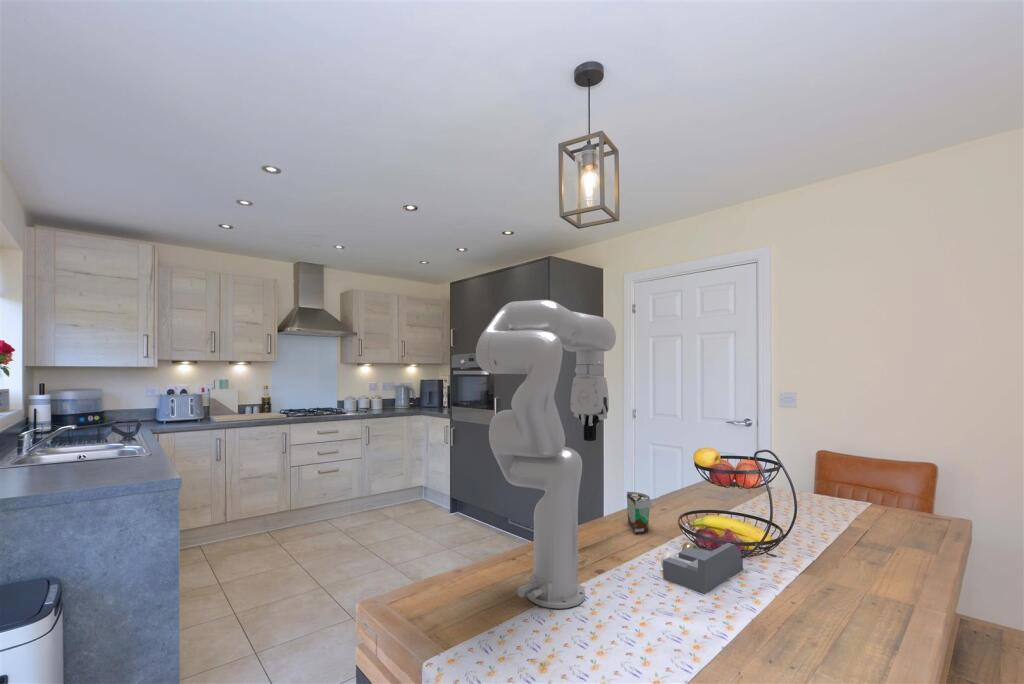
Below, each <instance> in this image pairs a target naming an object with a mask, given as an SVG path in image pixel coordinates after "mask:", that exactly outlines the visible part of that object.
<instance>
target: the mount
mask: <svg viewBox="0 0 1024 684" xmlns="http://www.w3.org/2000/svg"><path fill="white" fill-rule="evenodd" d="M734 539H736V540H738V541H742V542H743V539H740V538H738V537H736V538H734ZM697 547H698V546H697ZM698 548H699V547H698ZM701 549H702V548H701ZM705 550H708V551H711V552H709V553H708V552H705V551H701V550H698V549H694V548H691V547H689V548H687V549H685V550H683V551H682V550H681V551H679V552H678V558H681V559H685V560H688V561H691V563H686V562H682V561H679V560H676V559H673V558H670V557H669V558H667V559H665V560H663V568H662V572H663V573H662V579H663V580H666V581H668V582H670V583H673V584H677V585H678V586H682V587H685V588H687V589H690V590H694V591H696V592H699V593H701V594H707V593H708V592H711V591H712V590H713V589H715V588H716V587H718V586H719V585H721V584H722V583H723V582H725V581H727V580H729V579H730V578H732V577H733V576H734V575H736V574H737V572H738V573H739V572H740V570H741V571H742V570H744V561H743V559H744V557H743V558H740V556H741V552H740V551H739V549H738V548H737V546H736V545H735V544H731V543H728V542H726V543H725V544H723V545H722V544H721V547H719V548H717V549H712V548H706V549H705ZM729 577H730V578H729Z"/></svg>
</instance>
